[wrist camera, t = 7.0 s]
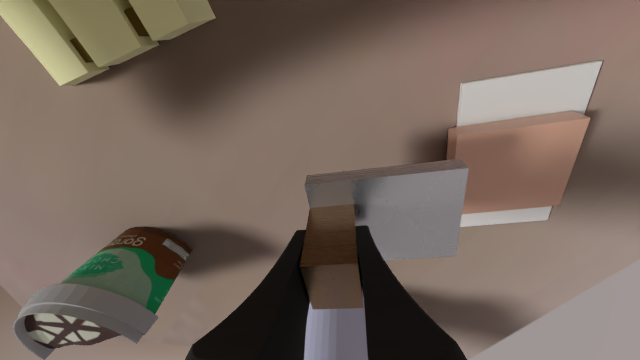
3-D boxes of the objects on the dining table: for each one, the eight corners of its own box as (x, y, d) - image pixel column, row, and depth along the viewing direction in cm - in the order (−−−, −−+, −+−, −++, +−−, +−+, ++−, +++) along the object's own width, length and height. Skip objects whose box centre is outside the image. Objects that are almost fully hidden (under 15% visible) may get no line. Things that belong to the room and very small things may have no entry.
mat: (545, 217, 23) (547, 219, 22) (447, 225, 24) (448, 227, 24) (598, 60, 16) (602, 60, 16) (460, 83, 17) (462, 83, 17)
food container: (166, 204, 25) (76, 295, 17) (203, 246, 28) (142, 343, 19) (82, 234, 28) (-30, 322, 20) (123, 269, 31) (40, 360, 23)
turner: (323, 251, 17) (318, 327, 13) (306, 175, 14) (291, 240, 10) (449, 243, 16) (489, 323, 12) (460, 158, 13) (519, 223, 9)
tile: (442, 203, 22) (543, 193, 21) (449, 215, 21) (559, 205, 20) (448, 127, 19) (569, 110, 18) (457, 136, 17) (590, 117, 16)
